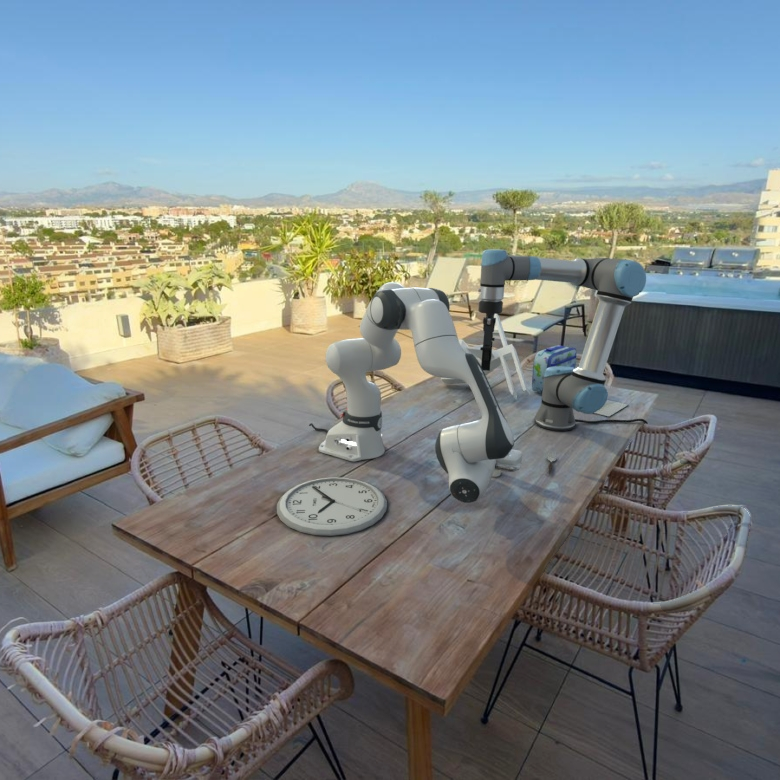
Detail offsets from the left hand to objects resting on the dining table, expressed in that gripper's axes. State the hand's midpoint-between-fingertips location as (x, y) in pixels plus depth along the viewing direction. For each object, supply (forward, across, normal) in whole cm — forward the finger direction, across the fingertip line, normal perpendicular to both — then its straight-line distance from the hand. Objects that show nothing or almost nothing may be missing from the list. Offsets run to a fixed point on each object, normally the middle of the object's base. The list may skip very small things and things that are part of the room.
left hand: (488, 443), depth 147 cm
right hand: (+30, +8, -15) cm, 34 cm away
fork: (+25, -17, +15) cm, 34 cm away
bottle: (+13, 0, +15) cm, 20 cm away
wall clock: (-24, +37, +15) cm, 47 cm away
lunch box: (+112, -11, +16) cm, 113 cm away
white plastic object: (+94, +20, +16) cm, 98 cm away
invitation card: (+95, -33, +15) cm, 102 cm away
